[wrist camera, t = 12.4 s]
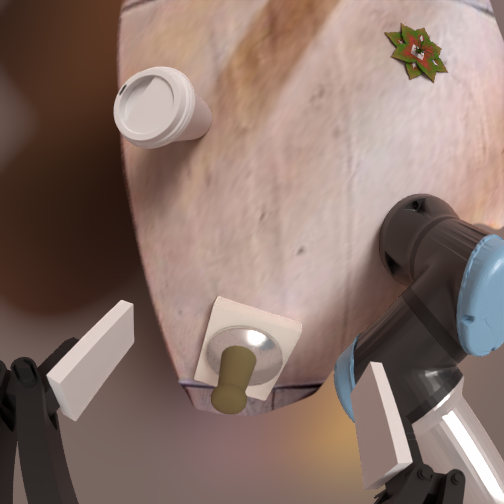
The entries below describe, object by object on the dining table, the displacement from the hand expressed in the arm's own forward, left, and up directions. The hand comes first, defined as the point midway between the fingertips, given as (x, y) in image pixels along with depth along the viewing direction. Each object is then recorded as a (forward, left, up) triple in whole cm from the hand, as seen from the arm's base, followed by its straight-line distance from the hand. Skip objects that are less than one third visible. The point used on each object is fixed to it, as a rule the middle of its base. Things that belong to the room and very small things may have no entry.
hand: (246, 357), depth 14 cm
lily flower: (-14, -36, -30) cm, 49 cm away
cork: (-2, +22, -25) cm, 33 cm away
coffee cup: (+16, -12, -30) cm, 36 cm away
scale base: (-3, +24, -30) cm, 38 cm away
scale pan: (-3, +22, -25) cm, 34 cm away
